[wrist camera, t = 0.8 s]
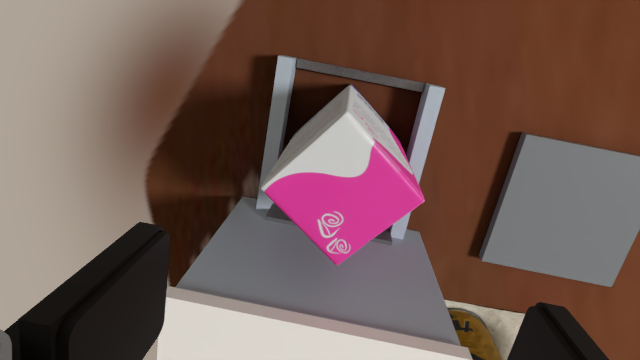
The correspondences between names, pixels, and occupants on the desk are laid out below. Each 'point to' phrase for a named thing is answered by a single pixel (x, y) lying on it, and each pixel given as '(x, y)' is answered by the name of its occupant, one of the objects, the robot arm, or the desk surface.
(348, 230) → the supplement box
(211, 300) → the dispenser
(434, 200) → the desk surface
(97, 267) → the robot arm
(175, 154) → the desk surface
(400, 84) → the bar
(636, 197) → the coaster
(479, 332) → the condiment
